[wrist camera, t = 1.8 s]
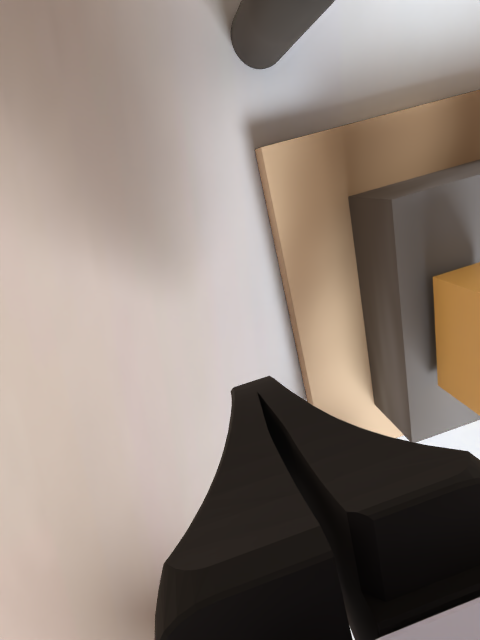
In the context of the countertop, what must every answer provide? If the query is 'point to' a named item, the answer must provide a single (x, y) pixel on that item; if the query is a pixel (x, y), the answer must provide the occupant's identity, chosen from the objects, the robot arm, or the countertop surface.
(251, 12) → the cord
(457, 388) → the orange cuboid
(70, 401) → the countertop surface
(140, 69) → the countertop surface
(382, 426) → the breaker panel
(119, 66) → the countertop surface
